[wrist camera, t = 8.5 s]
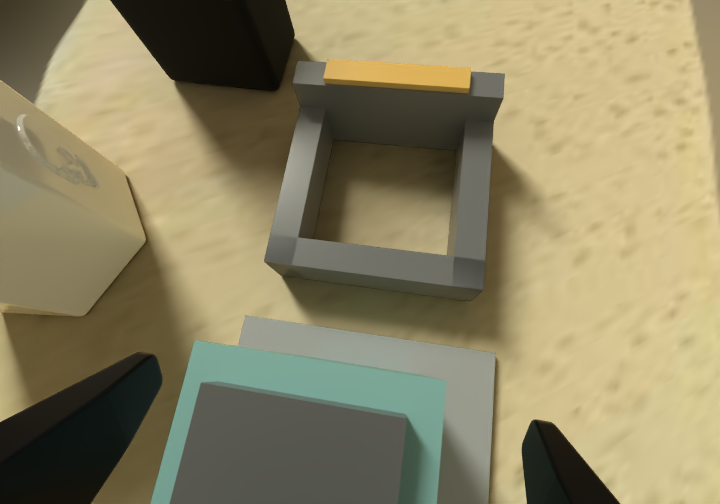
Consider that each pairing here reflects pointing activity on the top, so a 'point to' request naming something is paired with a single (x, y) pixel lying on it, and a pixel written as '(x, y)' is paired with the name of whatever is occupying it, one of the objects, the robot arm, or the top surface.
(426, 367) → the mat
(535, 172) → the top surface
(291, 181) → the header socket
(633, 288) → the top surface
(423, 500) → the plug
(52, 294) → the jar
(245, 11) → the battery
